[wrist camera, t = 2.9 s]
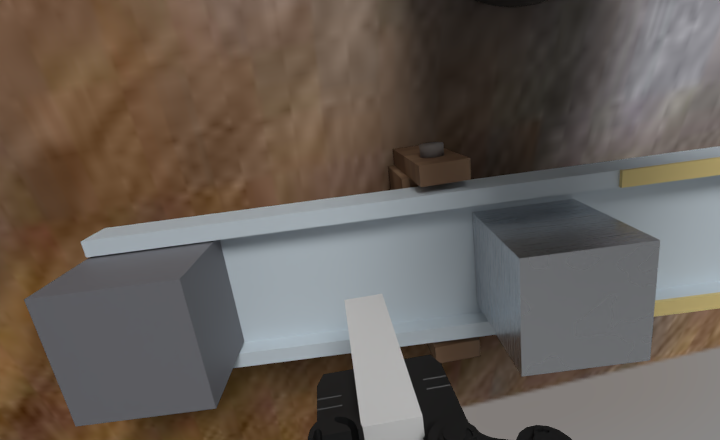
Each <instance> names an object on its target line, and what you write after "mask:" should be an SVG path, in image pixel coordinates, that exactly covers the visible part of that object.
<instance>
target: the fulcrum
mask: <svg viewBox="0 0 720 440" xmlns="http://www.w3.org/2000/svg"><path fill="white" fill-rule="evenodd" d="M393 154H394V164H395V166H388V169H389V178H390V187H391V190H396V189H403V188H411V187H418V186H420V187H426V186H433V185H439V184H446V183H452V182H459V181H465V180H471V164H470V158H468V157H466V156H463V155H461V154H458V153H455V152H453V151H450V150H448V149H445V148H444V145H443V142H429V143H423V144H420V145H417V146H411V147H404V148H397V149H393ZM427 345H428V347H429V349H430V351H431V353H432V355H433V357H434V358H435V359H436V360H437V361H439V362H440V363H445V362H451V361H456V360H462V359H467V358H472V357H478V356H481V355H480V339H479V338H478V337H473V338H465V339H457V340H449V341H442V342H434V343H427Z"/></svg>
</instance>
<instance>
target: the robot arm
mask: <svg viewBox="0 0 720 440" xmlns="http://www.w3.org/2000/svg"><path fill="white" fill-rule="evenodd" d="M344 301H345V309H346V316H347V324H348V331H349V339H350V346H351V354H352V361H353V369H352V370H346V371H340V372H334V373H329V374H324V375H323V376H322V378H321V380H320V382H319V384H318V386H317V400H318V401H317V410H318V411H317V422H316V423H315V424H314V426H313V427H312V428H311V429H310V432H309V436H308V440H506V439H497V438H492V437H488V436H486V435H483V434H482V433H480V432H479V431H478V430H477V429H476V428H475V427H474V426H473V425H471V424H470V423H468V420H467V419H466V417H465V414H464V412H463V410H462V408H461V406H460V404H459V401H458V399H457V397H456V395H455V393H454V391H453V388H452V386H451V385H450V382H449V380H448V378H447V377H446V373H445V371H444V369H443V367H442V365H441V363H440V362H439V361H437V360H436V359H435V358H434V357H432V356H431V355H426V356H420V357H414V358H408V359H404V358H403V355H402V352H401V349H400V346H399V343H398V340H397V337H396V334H395V331H394V328H393V325H392V322H391V319H390V316H389V313H388V310H387V307H386V304H385V301H384V297H383V294H377V295H371V296H365V297H359V298H353V299H347V300H344ZM516 440H572V439H571V438H570V437H568V436H567V435H565V434H564V433H562V432H561V431H559V430H557V429H554V428H552V427H549V426H540V425H535V426H531V427H527V428H525V429H524V430H522V431H521V432H520V433H519V435H518V437H517V439H516Z"/></svg>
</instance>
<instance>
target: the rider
mask: <svg viewBox="0 0 720 440" xmlns="http://www.w3.org/2000/svg"><path fill="white" fill-rule="evenodd" d="M472 223H473V242H474V261H475V279H476V298H477V304H478V305H479V307H480V309H481V310H482V312H483V314H484V315H485V317H486V319H487V320H488V322H489V324H490V325H491V327H492V328H493V330H494V332H495V333H496V335H497V337H498V338H499V340H500V342H501V343H502V345H503V347H504V348H505V350H506V351H507V353H508V355H509V356H510V358H511V360H512V361H513V363H514V365H515V366H516V368H517V370H518V371H519V373H520V374H521V376H529V375H537V374H545V373H553V372H561V371H569V370H577V369H585V368H592V367H600V366H608V365H616V364H624V363H632V362H640V361H648V360H650V354H651V342H652V331H653V319H654V308H655V296H656V285H657V273H658V262H659V250H660V240H659V239H657V238H655V237H653V236H651V235H649V234H646V233H644V232H642V231H640V230H638V229H636V228H634V227H632V226H630V225H628V224H625V223H623V222H621V221H619V220H617V219H615V218H613V217H611V216H609V215H607V214H604V213H602V212H600V211H598V210H596V209H594V208H592V207H590V206H588V205H585V204H583V203H581V202H579V201H577V200H575V199H567V200H560V201H552V202H545V203H537V204H530V205H522V206H514V207H507V208H499V209H492V210H484V211H477V212H472Z"/></svg>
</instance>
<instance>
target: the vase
mask: <svg viewBox="0 0 720 440" xmlns="http://www.w3.org/2000/svg"><path fill="white" fill-rule="evenodd" d="M476 1H479V2H482V3H486V4H490V5H495V6H505V7H517V6H526V5H532V4H536V3H540V2H543V1H546V0H476Z"/></svg>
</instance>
